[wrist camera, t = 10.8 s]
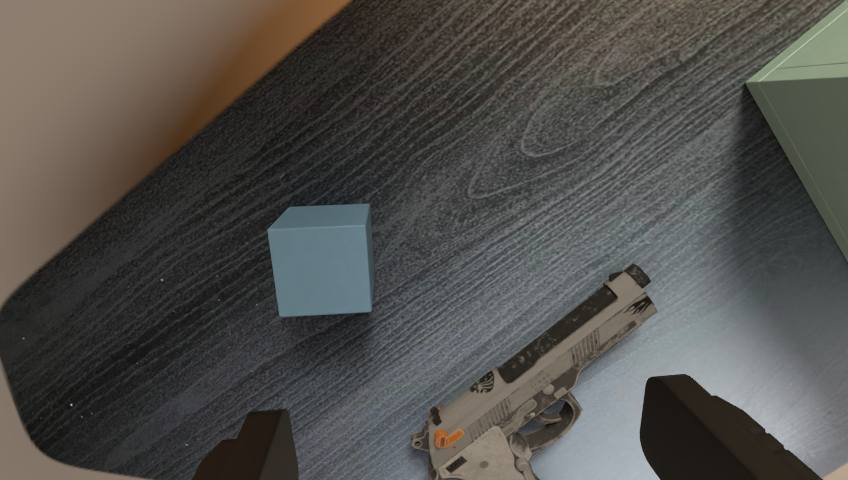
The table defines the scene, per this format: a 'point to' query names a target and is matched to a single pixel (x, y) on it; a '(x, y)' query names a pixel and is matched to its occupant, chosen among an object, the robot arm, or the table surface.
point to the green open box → (813, 114)
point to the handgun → (531, 389)
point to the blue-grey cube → (323, 260)
